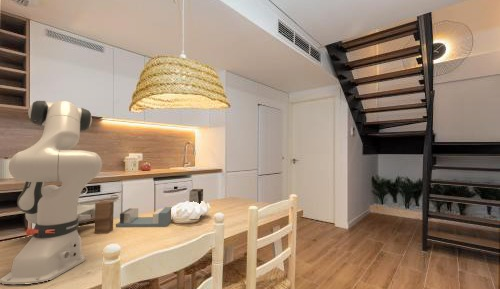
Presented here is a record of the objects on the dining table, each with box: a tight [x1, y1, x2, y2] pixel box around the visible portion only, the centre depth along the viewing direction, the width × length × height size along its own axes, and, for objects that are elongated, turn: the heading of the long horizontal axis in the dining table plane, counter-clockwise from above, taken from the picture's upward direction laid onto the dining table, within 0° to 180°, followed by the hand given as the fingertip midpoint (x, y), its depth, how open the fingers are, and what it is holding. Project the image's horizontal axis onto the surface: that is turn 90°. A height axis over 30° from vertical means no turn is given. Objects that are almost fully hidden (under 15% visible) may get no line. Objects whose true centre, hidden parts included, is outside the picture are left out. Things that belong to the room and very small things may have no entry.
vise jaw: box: [119, 207, 139, 223], centre depth 132 cm, size 11×5×5 cm, turn 4°
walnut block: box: [94, 200, 115, 234], centre depth 118 cm, size 5×6×14 cm
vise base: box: [115, 206, 173, 228], centre depth 132 cm, size 13×25×7 cm, turn 94°
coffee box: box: [188, 188, 204, 204], centre depth 145 cm, size 9×6×16 cm
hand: (96, 214), depth 118 cm, fingers open, 8 cm apart
